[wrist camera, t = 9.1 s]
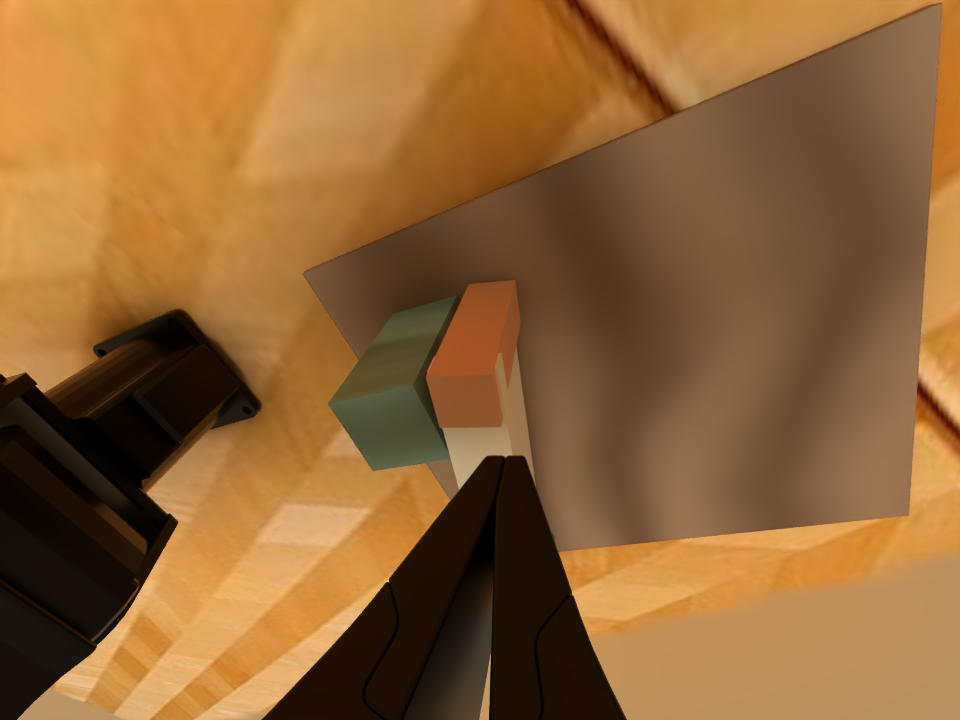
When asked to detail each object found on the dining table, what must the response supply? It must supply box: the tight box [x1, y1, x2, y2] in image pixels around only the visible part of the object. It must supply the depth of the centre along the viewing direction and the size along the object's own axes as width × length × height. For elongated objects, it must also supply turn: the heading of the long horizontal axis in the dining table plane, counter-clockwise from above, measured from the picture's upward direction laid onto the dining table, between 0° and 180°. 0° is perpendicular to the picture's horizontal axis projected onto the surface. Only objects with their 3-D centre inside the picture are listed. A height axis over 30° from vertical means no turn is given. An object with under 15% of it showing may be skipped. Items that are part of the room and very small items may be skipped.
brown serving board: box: [303, 3, 942, 552], centre depth 16 cm, size 21×20×9 cm
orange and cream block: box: [426, 280, 536, 490], centre depth 18 cm, size 14×2×6 cm, turn 9°
